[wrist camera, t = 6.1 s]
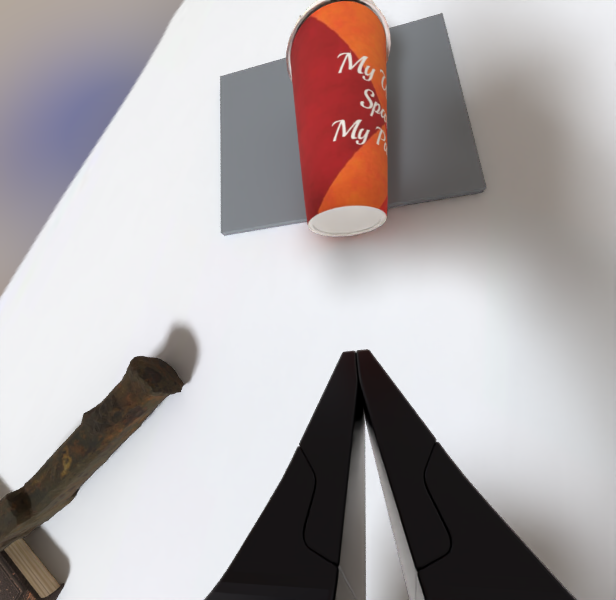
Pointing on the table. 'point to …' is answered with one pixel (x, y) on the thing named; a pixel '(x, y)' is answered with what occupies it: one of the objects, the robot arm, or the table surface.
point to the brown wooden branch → (87, 447)
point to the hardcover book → (25, 575)
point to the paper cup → (341, 114)
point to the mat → (400, 133)
